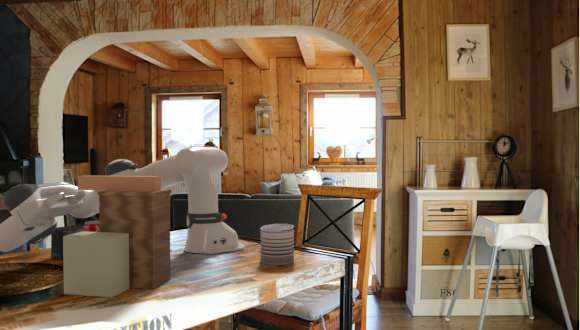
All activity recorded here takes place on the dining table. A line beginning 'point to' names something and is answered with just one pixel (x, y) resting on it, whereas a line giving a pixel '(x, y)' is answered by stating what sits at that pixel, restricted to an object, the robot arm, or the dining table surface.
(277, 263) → the can
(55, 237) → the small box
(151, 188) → the rail
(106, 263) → the low block
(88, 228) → the soda can
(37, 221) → the robot arm
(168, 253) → the tall stand
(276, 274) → the dining table surface
